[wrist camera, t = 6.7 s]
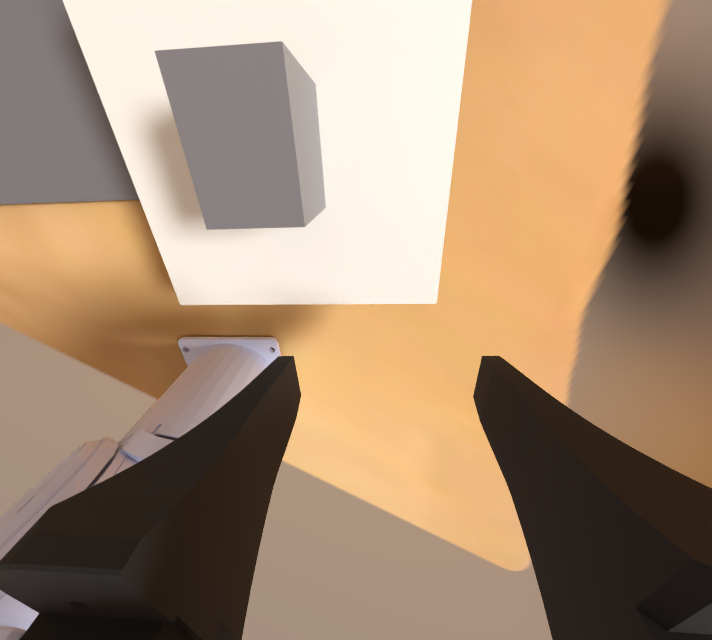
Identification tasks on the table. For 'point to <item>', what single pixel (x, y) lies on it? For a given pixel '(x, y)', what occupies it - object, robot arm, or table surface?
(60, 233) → the table surface
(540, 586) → the robot arm
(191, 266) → the lid
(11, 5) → the mat
